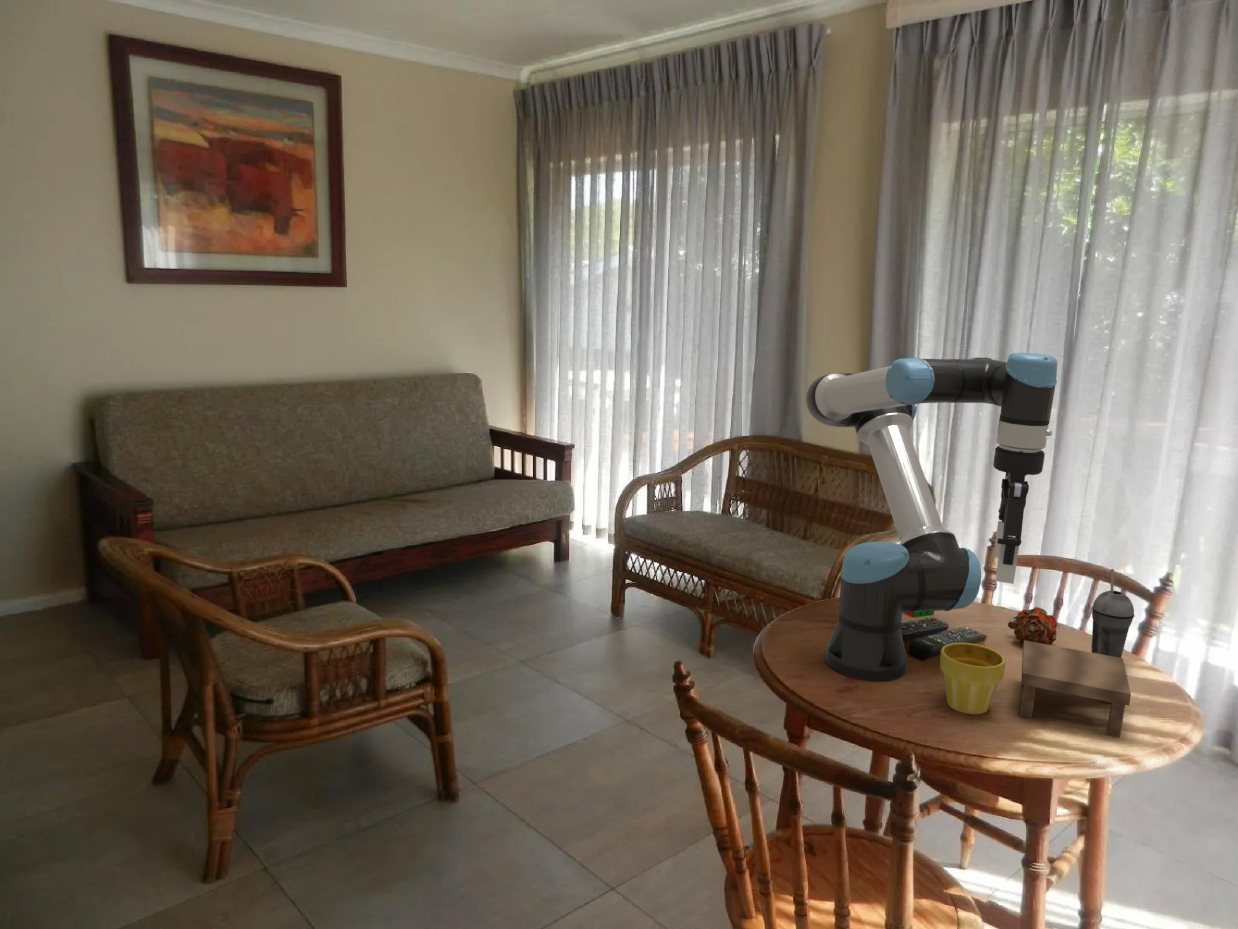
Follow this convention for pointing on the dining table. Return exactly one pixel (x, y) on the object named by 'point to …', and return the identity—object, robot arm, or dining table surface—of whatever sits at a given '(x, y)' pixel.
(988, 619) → the dining table surface
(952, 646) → the plant pot
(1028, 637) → the dragon fruit
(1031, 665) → the walnut stool
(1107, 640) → the beverage cup
